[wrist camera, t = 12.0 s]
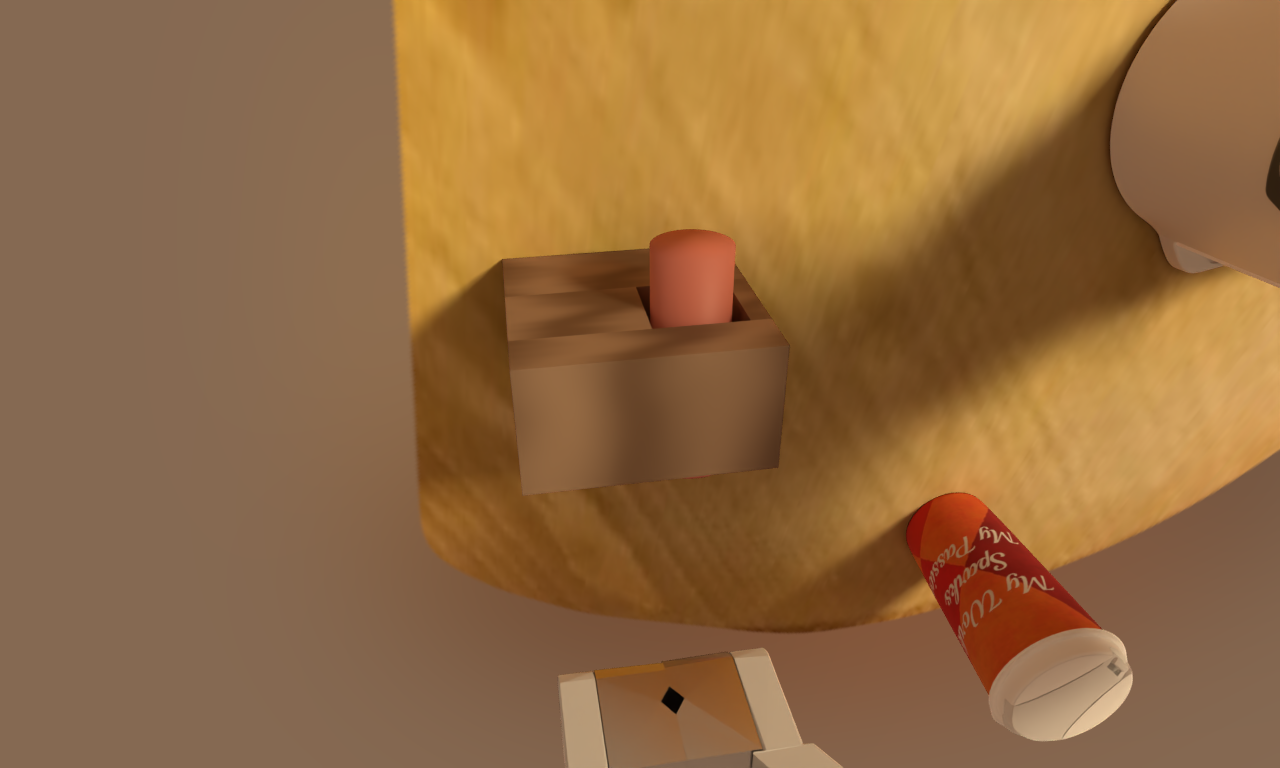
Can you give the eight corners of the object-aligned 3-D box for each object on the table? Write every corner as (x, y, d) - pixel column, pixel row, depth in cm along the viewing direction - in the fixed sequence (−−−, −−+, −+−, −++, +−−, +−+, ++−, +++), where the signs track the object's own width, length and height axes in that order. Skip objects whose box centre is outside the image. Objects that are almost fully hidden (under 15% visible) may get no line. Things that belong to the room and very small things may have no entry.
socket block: (721, 243, 43) (789, 345, 33) (716, 363, 46) (776, 486, 37) (502, 259, 41) (509, 370, 32) (514, 382, 45) (524, 514, 36)
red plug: (730, 223, 38) (757, 261, 34) (720, 421, 43) (743, 473, 39) (632, 229, 37) (649, 269, 33) (635, 430, 42) (650, 483, 39)
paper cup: (960, 458, 53) (1099, 626, 41) (1021, 515, 56) (1166, 685, 45) (865, 536, 55) (972, 717, 43) (930, 587, 59) (1045, 766, 47)
